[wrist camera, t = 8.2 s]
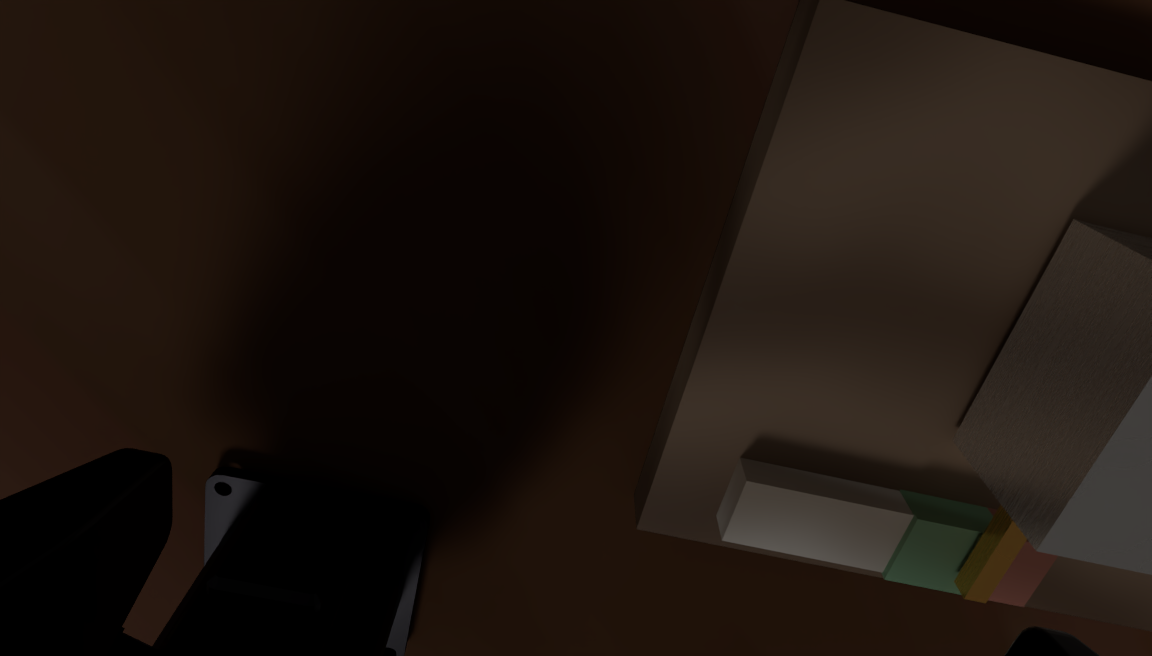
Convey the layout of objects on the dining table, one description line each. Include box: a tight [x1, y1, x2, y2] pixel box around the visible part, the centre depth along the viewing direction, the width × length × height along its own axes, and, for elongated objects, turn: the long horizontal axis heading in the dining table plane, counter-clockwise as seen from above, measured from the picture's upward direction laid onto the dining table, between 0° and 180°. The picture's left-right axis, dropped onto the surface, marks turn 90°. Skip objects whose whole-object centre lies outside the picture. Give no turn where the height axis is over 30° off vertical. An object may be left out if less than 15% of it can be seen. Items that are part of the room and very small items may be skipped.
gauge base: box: [634, 0, 1152, 631], centre depth 17 cm, size 14×16×6 cm
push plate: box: [952, 219, 1152, 603], centre depth 17 cm, size 10×3×4 cm, turn 167°
